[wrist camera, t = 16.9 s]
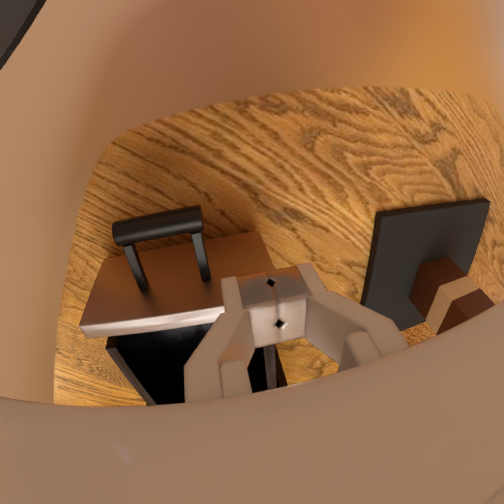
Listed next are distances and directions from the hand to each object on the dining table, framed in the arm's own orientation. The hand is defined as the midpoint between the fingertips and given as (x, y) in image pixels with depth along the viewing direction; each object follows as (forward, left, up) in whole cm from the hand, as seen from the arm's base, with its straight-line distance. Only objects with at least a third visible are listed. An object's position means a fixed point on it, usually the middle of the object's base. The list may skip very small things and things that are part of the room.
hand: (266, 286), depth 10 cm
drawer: (+9, -5, -11) cm, 15 cm away
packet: (+14, +21, -11) cm, 28 cm away
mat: (+14, +21, -12) cm, 28 cm away
